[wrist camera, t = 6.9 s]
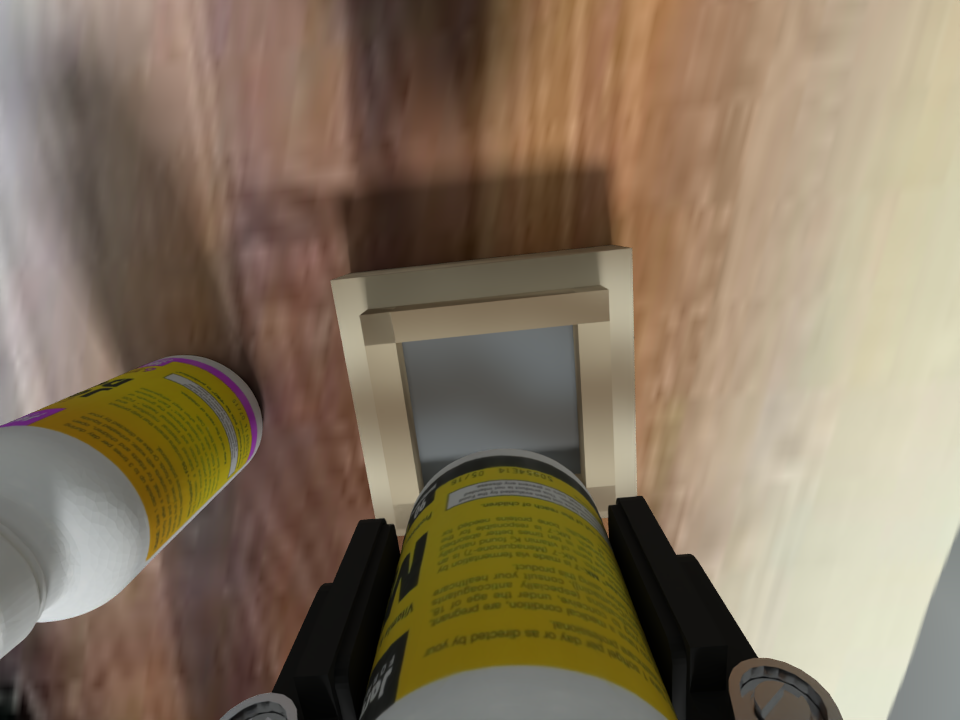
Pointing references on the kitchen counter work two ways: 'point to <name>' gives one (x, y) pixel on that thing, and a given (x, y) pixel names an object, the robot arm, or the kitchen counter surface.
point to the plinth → (493, 368)
